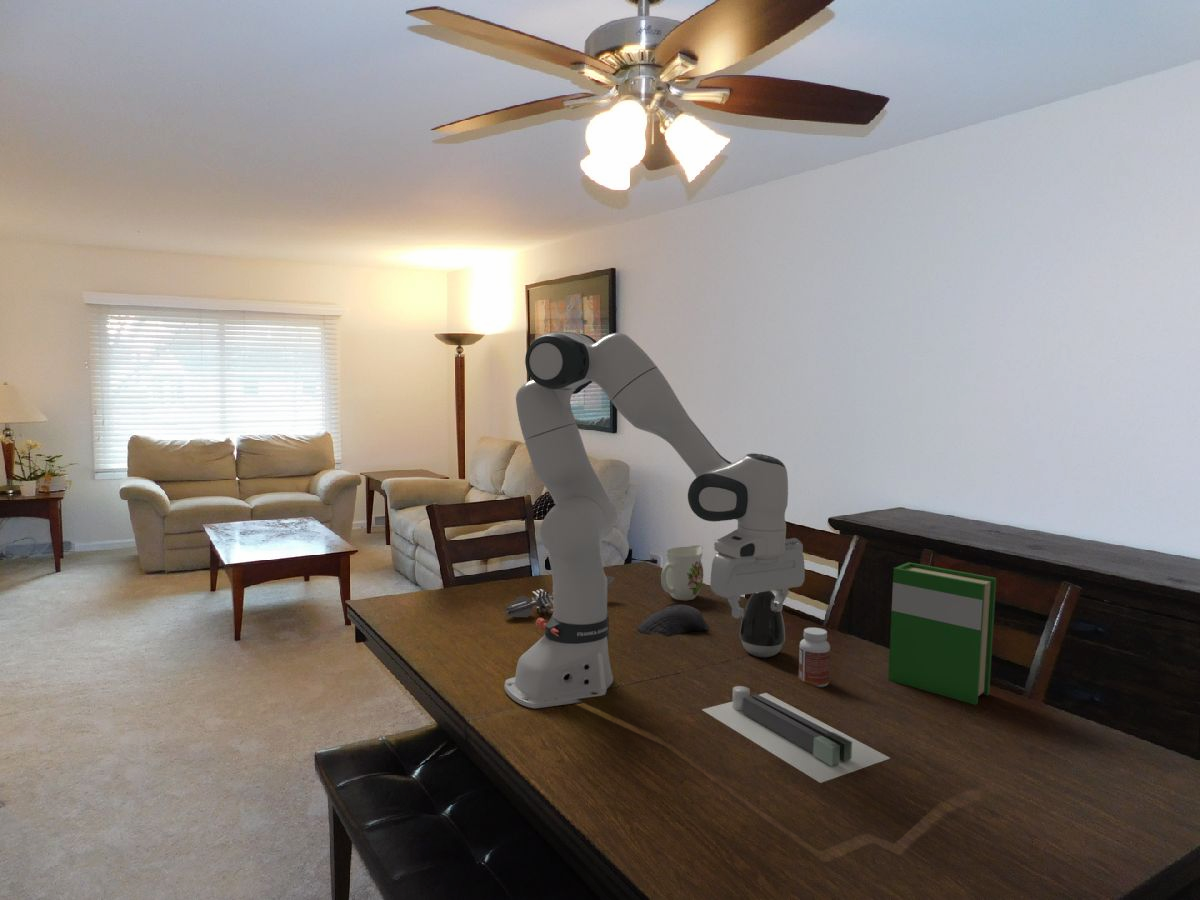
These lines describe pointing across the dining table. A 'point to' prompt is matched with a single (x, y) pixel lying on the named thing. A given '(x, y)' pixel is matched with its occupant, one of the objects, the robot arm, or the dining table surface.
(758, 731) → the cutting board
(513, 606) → the spaceship
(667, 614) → the seashell
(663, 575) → the pitcher
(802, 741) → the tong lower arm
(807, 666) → the pill bottle
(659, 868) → the dining table surface
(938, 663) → the hardback book
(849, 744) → the tong upper arm
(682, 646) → the dining table surface
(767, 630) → the black white egg-shaped piece
